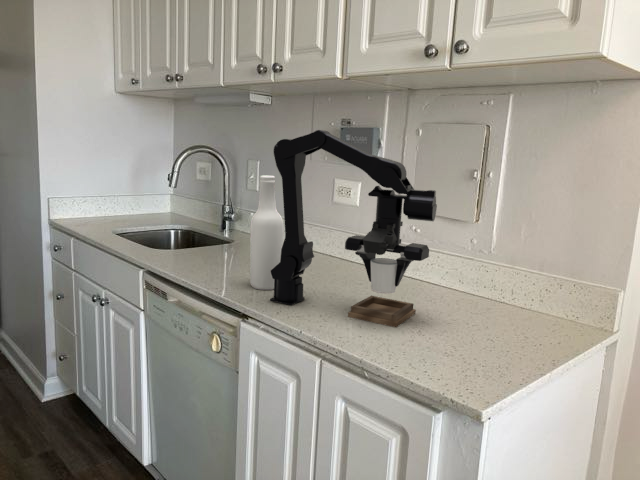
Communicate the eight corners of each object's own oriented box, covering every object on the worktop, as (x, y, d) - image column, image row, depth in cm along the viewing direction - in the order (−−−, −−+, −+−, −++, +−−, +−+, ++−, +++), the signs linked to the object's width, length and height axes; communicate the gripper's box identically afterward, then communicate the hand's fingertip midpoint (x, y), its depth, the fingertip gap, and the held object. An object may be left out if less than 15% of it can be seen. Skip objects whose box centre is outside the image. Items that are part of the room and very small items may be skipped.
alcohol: (287, 288, 143) (289, 177, 137) (256, 292, 139) (257, 177, 133) (275, 280, 151) (276, 174, 145) (245, 283, 147) (246, 174, 141)
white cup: (378, 284, 128) (380, 256, 127) (403, 290, 124) (405, 261, 122) (362, 289, 123) (364, 260, 121) (387, 296, 118) (390, 265, 117)
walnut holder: (347, 316, 122) (348, 306, 122) (369, 304, 132) (370, 294, 132) (396, 327, 116) (397, 316, 116) (415, 313, 126) (416, 303, 126)
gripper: (335, 216, 118) (331, 284, 121) (415, 226, 109) (409, 299, 112) (357, 211, 127) (353, 274, 130) (432, 220, 118) (426, 288, 121)
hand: (383, 283), depth 123 cm, fingers closed on white cup, 6 cm apart
